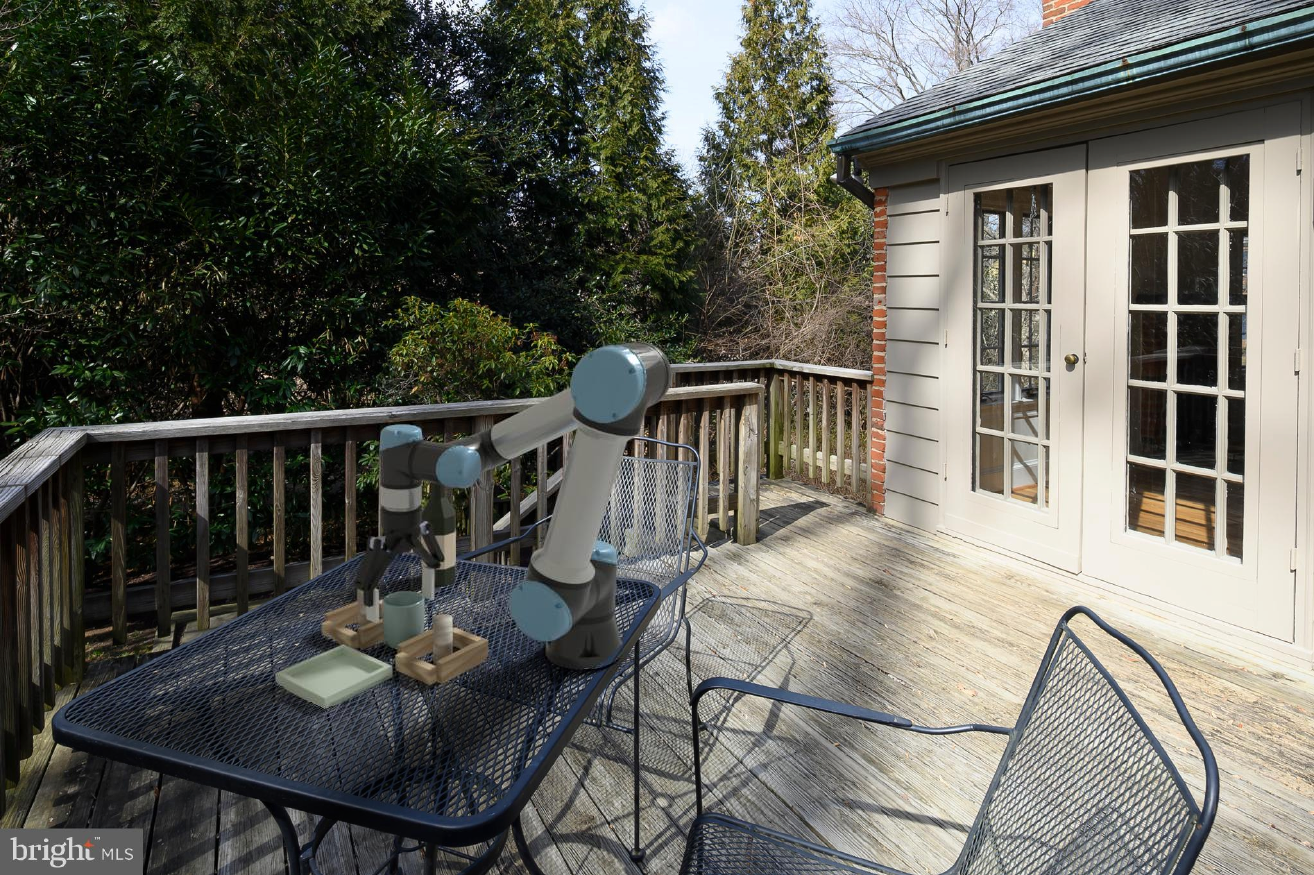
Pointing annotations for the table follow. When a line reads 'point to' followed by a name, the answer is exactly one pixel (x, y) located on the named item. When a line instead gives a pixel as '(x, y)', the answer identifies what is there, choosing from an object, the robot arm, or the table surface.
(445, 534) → the wine bottle
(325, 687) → the tray
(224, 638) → the table surface
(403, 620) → the cup
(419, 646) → the rack
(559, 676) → the table surface
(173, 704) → the table surface
